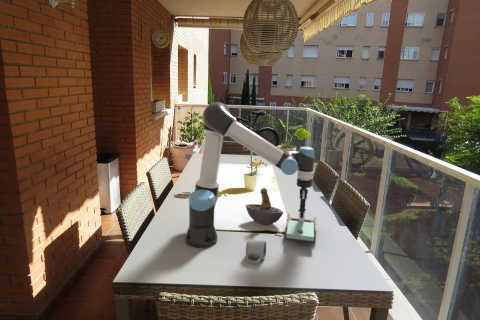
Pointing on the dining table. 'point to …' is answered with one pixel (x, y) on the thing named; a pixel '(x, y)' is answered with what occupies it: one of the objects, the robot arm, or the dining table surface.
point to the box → (304, 221)
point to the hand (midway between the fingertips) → (301, 222)
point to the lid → (300, 230)
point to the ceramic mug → (256, 250)
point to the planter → (264, 210)
